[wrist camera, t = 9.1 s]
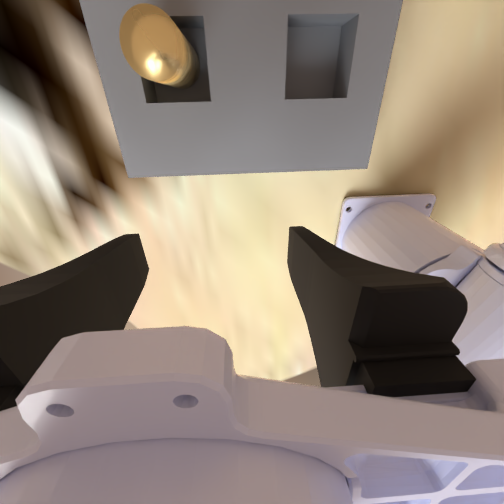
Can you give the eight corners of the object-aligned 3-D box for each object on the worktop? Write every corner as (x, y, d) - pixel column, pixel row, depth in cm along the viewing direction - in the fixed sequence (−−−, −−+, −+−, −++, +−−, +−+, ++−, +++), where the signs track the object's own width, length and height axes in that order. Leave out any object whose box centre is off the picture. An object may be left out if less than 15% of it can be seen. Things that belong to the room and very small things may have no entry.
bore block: (349, 159, 20) (367, 168, 17) (142, 167, 19) (128, 177, 16) (390, -76, 13) (427, -118, 11) (84, -76, 13) (46, -120, 10)
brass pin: (201, 89, 16) (184, 82, 11) (161, 87, 16) (126, 79, 11) (198, 40, 15) (178, 5, 10) (155, 37, 15) (112, 0, 10)
